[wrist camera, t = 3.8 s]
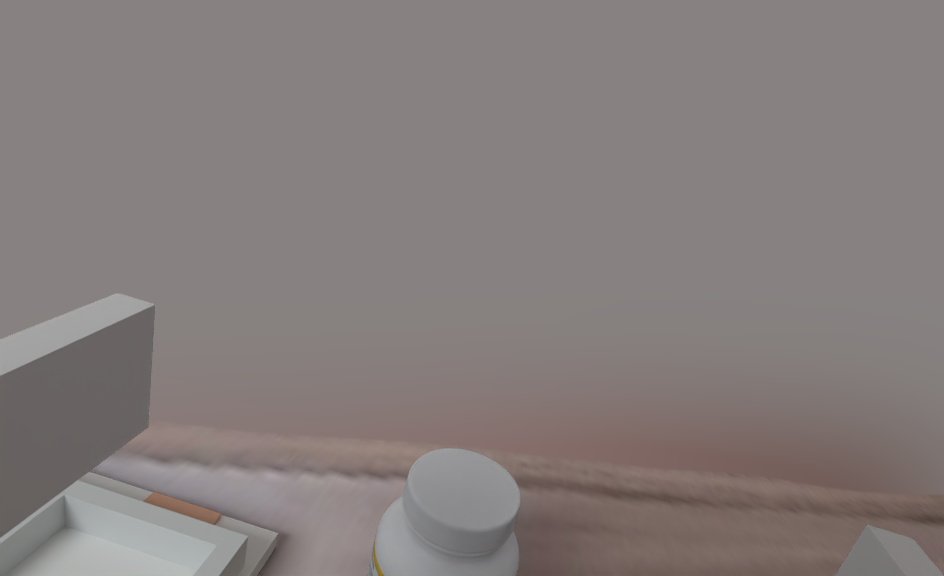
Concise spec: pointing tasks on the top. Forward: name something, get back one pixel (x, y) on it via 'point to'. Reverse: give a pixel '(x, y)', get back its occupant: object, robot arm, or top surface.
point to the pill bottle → (450, 520)
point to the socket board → (130, 536)
